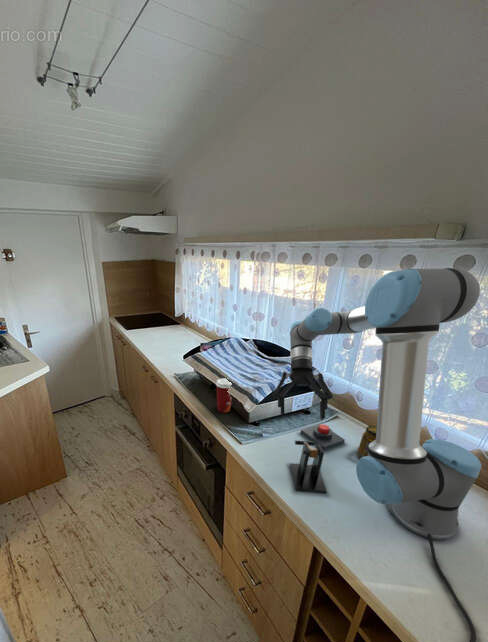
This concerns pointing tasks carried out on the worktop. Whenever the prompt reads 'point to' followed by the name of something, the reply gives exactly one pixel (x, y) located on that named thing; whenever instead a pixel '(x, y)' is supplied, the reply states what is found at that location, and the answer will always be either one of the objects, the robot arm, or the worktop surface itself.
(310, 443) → the small hammer
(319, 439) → the button box
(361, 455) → the condiment
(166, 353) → the worktop surface
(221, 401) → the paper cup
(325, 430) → the button
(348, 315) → the robot arm
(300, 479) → the rod bracket
